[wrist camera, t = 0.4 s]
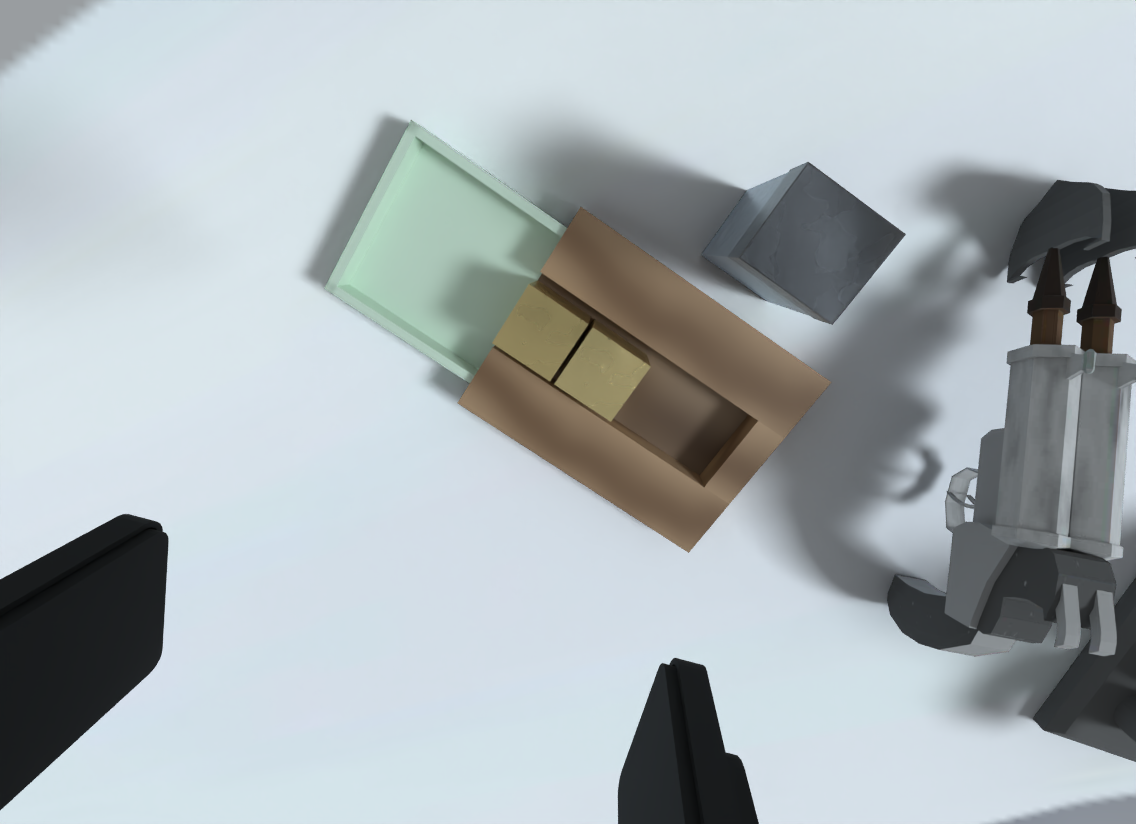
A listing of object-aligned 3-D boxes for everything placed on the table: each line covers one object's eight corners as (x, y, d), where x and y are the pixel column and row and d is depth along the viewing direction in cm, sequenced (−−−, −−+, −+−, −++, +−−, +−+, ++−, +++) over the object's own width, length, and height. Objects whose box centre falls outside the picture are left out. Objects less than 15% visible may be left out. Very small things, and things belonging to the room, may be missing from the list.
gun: (863, 623, 40) (1037, 709, 25) (906, 259, 43) (1085, 144, 28) (938, 637, 40) (1159, 732, 25) (977, 272, 43) (1194, 162, 28)
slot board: (582, 209, 35) (580, 206, 32) (817, 373, 36) (831, 382, 34) (466, 394, 38) (457, 403, 36) (684, 535, 40) (688, 552, 38)
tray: (422, 126, 34) (411, 119, 32) (570, 229, 35) (567, 228, 33) (339, 286, 37) (324, 288, 35) (477, 377, 38) (470, 383, 36)
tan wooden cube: (537, 280, 36) (528, 283, 32) (591, 316, 36) (588, 324, 32) (504, 333, 37) (491, 343, 33) (556, 367, 37) (549, 381, 33)
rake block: (746, 189, 34) (808, 161, 23) (814, 239, 34) (905, 234, 24) (699, 254, 35) (738, 257, 24) (766, 302, 35) (832, 324, 25)
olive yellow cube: (594, 318, 36) (592, 327, 32) (646, 354, 36) (651, 366, 33) (560, 370, 37) (554, 384, 33) (610, 404, 37) (610, 422, 34)
